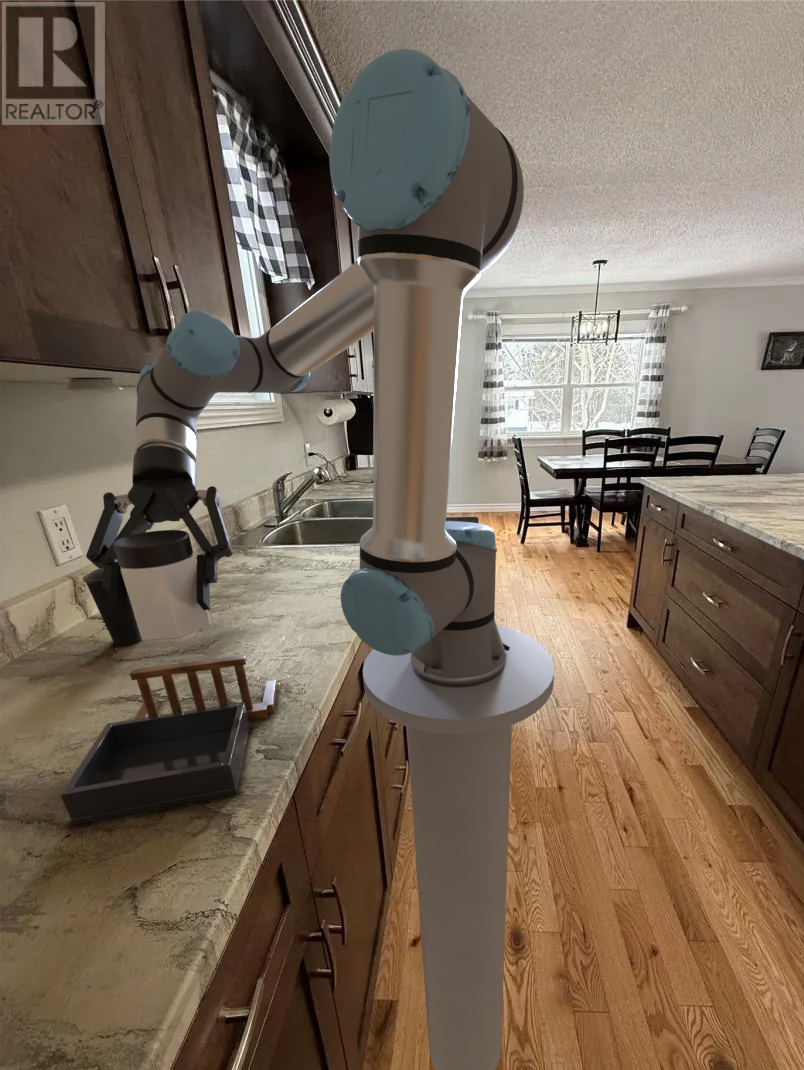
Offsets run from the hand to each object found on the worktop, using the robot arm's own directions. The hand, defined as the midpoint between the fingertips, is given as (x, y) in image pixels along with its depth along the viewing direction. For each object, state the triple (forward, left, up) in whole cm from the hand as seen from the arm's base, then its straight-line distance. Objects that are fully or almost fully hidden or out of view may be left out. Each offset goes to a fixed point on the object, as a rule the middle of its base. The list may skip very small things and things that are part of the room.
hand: (161, 610), depth 59 cm
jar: (0, -3, -4) cm, 5 cm away
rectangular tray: (+1, +7, -19) cm, 20 cm away
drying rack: (-1, -5, -19) cm, 19 cm away
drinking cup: (+19, -35, -19) cm, 44 cm away
